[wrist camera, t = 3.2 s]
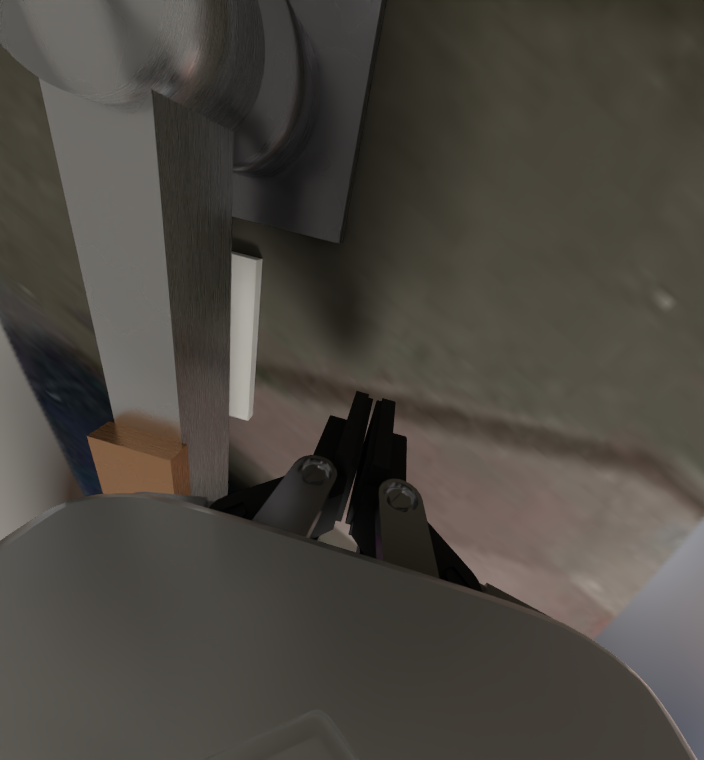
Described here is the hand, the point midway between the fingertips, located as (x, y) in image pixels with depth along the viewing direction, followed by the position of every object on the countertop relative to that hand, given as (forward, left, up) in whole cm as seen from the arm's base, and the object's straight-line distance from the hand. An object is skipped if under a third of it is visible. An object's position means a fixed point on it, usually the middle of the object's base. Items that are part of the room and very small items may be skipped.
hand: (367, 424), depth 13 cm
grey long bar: (-3, -7, 0) cm, 8 cm away
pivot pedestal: (-10, -7, -4) cm, 13 cm away
